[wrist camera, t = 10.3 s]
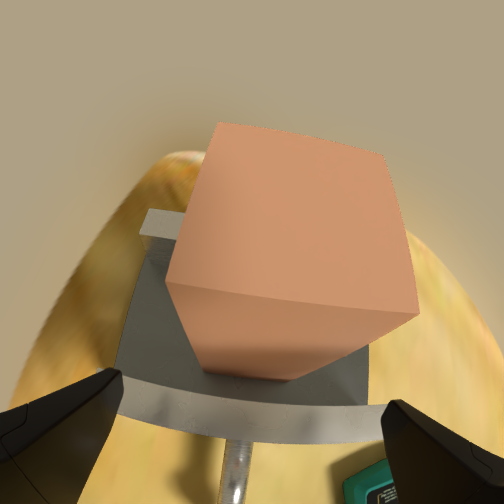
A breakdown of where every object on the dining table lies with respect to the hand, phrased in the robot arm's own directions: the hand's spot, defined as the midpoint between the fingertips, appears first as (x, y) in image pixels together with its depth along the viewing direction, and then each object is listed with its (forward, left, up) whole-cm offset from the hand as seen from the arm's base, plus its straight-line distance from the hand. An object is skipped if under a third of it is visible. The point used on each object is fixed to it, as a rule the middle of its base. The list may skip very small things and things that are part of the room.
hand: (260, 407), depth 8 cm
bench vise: (0, 0, -9) cm, 9 cm away
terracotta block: (+4, 0, -8) cm, 9 cm away
